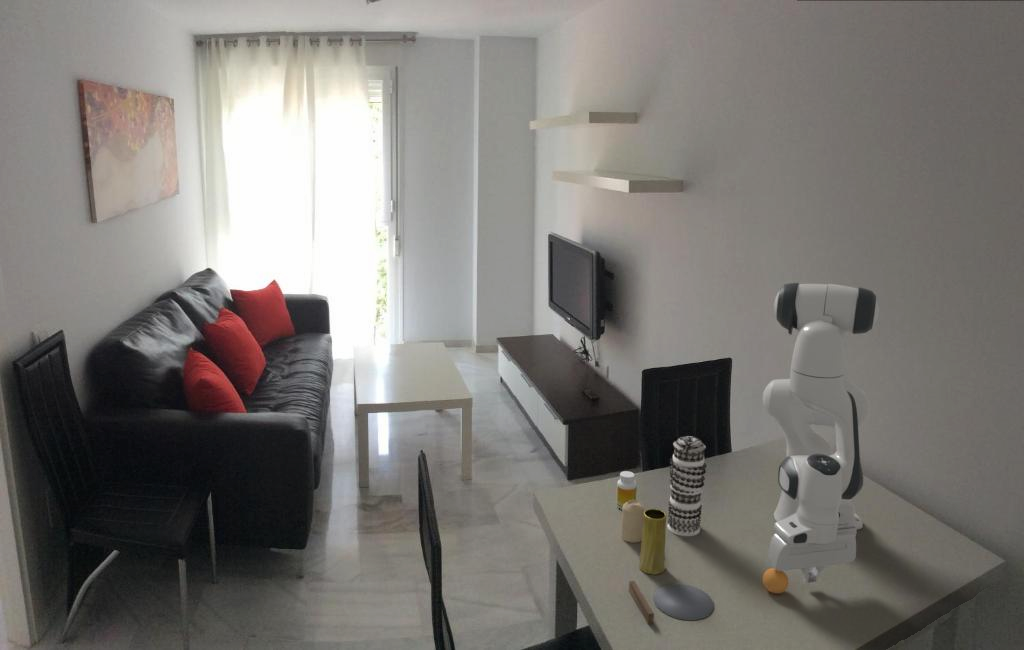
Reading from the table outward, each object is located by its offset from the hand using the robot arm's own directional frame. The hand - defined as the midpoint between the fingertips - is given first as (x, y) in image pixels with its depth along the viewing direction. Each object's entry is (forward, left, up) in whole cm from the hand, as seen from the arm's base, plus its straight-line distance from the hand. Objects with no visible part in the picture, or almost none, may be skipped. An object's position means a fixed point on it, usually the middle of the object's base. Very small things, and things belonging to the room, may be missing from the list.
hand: (809, 581), depth 171 cm
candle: (+32, -28, -2) cm, 43 cm away
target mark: (+30, 0, -2) cm, 30 cm away
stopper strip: (+40, 0, -2) cm, 40 cm away
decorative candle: (+17, -30, -2) cm, 35 cm away
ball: (+8, 0, +1) cm, 8 cm away
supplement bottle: (+28, -44, -2) cm, 53 cm away
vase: (+32, -14, -2) cm, 35 cm away
